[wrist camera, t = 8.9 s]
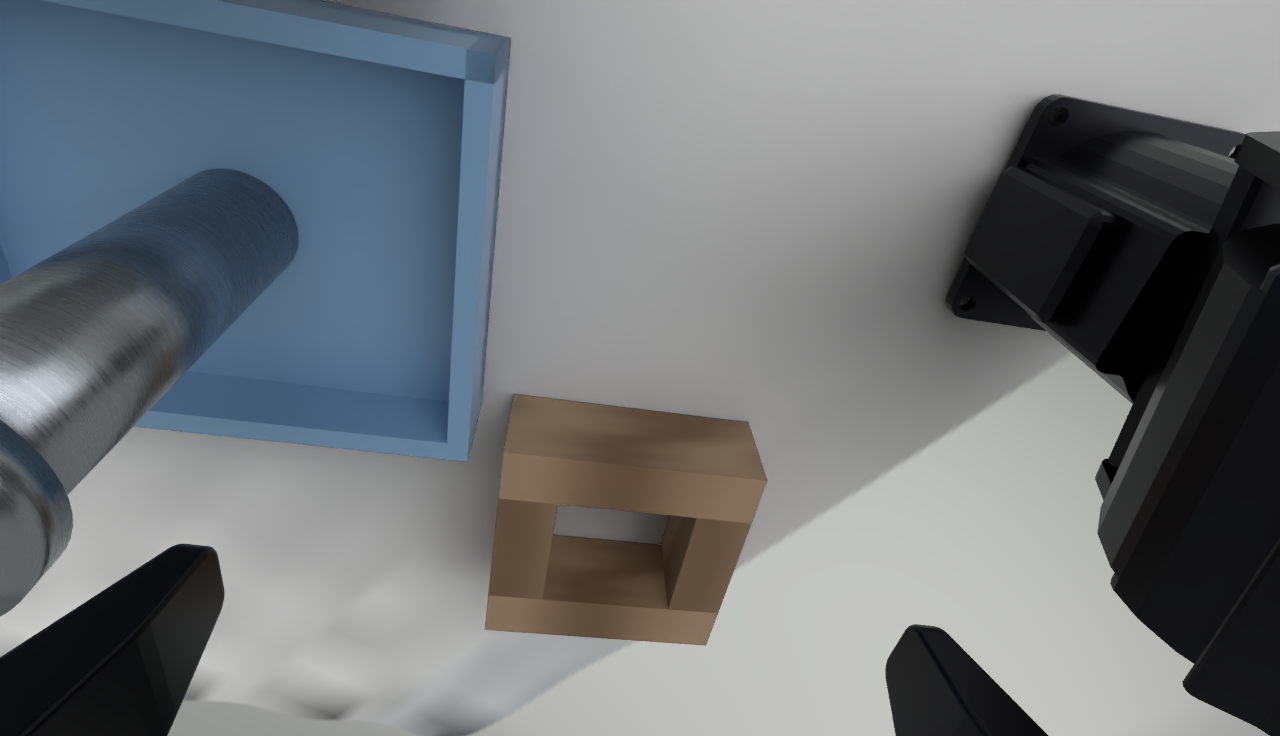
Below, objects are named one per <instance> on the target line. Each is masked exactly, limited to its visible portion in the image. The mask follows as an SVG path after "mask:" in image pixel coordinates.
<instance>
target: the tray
mask: <svg viewBox="0 0 1280 736" xmlns="http://www.w3.org/2000/svg"><path fill="white" fill-rule="evenodd" d="M510 45H511V38H509V37H504V36H499V35H494V34H489V33H483V32H478V31H473V30H468V29H463V28H458V27H453V26H448V25H443V24H438V23H433V22H428V21H423V20H417V19H412V18H407V17H402V16H397V15H392V14H387V13H382V12H377V11H372V10H367V9H362V8H357V7H351V6H346V5H341V4H336V3H331V2H326V1H321V0H0V285H1V284H3V283H4V282H6V281H8V280H10V279H11V278H13V277H15V276H17V275H18V274H20V273H22V272H24V271H26V270H27V269H29V268H31V267H33V266H34V265H36V264H38V263H40V262H41V261H43V260H45V259H47V258H48V257H50V256H52V255H54V254H55V253H57V252H59V251H61V250H63V249H64V248H66V247H68V246H70V245H71V244H73V243H75V242H77V241H78V240H80V239H82V238H84V237H85V236H87V235H89V234H91V233H92V232H94V231H96V230H98V229H100V228H101V227H103V226H105V225H107V224H108V223H110V222H112V221H114V220H115V219H117V218H119V217H121V216H122V215H124V214H126V213H128V212H129V211H131V210H133V209H135V208H137V207H138V206H140V205H142V204H144V203H145V202H147V201H149V200H151V199H152V198H154V197H156V196H158V195H159V194H161V193H163V192H165V191H166V190H168V189H170V188H172V187H174V186H175V185H177V184H179V183H181V182H182V181H184V180H186V179H188V178H189V177H191V176H193V175H195V174H197V173H199V172H201V171H205V170H209V169H216V168H224V169H232V170H237V171H241V172H244V173H247V174H249V175H251V176H253V177H256V178H257V179H259V180H261V181H263V182H264V183H265V184H267V185H268V186H270V187H271V188H272V189H273V190H274V191H275V192H277V193H278V194H279V196H280V197H281V198H282V199H283V200H284V201H285V203H286V204H287V205H288V207H289V209H290V210H291V212H292V214H293V216H294V218H295V221H296V224H297V228H298V234H299V243H298V249H297V252H296V255H295V257H294V259H293V261H292V262H291V263H290V264H289V266H288V267H287V268H286V269H285V270H284V271H283V272H282V273H281V274H280V275H279V276H278V277H277V278H276V279H275V280H274V281H273V282H272V283H271V284H270V285H269V286H268V287H267V288H266V289H265V291H264V292H263V293H262V294H261V295H260V296H259V297H258V298H257V299H256V300H255V301H254V302H253V303H252V304H251V305H250V306H249V307H248V308H247V309H246V310H245V311H244V312H243V313H242V314H241V315H240V316H239V317H238V319H237V320H236V321H235V322H234V323H233V324H232V325H231V326H230V327H229V328H228V329H227V330H226V331H225V332H224V333H223V334H222V335H221V336H220V337H219V338H218V339H217V340H216V341H215V342H214V343H213V344H212V345H211V347H210V348H209V349H208V350H207V351H206V352H205V353H204V354H203V355H202V356H201V357H200V358H199V359H198V360H197V361H196V362H195V363H194V364H193V365H192V366H191V367H190V368H189V369H188V370H187V371H186V372H185V373H184V375H183V376H182V377H181V378H180V379H179V380H178V381H177V382H176V383H175V384H174V385H173V386H172V387H171V388H170V389H169V390H168V391H167V392H166V393H165V394H164V395H163V396H162V397H161V398H160V399H159V400H158V401H157V403H156V404H155V405H154V406H153V407H152V408H151V409H150V410H149V411H148V412H147V413H146V414H145V415H144V416H143V417H142V418H141V419H140V420H139V421H138V422H137V423H136V424H135V425H134V427H143V428H153V429H162V430H172V431H181V432H191V433H200V434H210V435H219V436H228V437H238V438H247V439H257V440H266V441H276V442H285V443H294V444H304V445H313V446H323V447H332V448H342V449H351V450H360V451H370V452H379V453H389V454H398V455H408V456H417V457H427V458H436V459H445V460H455V461H464V462H467V461H468V457H469V453H470V449H471V445H472V441H473V437H474V433H475V429H476V425H477V421H478V417H479V413H480V409H481V404H482V395H483V383H484V370H485V358H486V345H487V333H488V320H489V308H490V295H491V283H492V270H493V258H494V245H495V233H496V220H497V208H498V195H499V183H500V170H501V158H502V145H503V133H504V120H505V108H506V95H507V83H508V70H509V58H510Z"/></svg>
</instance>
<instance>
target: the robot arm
mask: <svg viewBox="0 0 1280 736" xmlns="http://www.w3.org/2000/svg"><path fill="white" fill-rule="evenodd" d="M1057 108H1059V109H1060V113H1059V116H1058V118H1057V119H1056V120H1055V121H1054V122H1052V123H1049V117H1050V115H1051V113H1052V112H1053V111H1054V110H1055V109H1057ZM1235 146H1236V148H1235V150H1234V152H1233V153H1232V154H1231V155H1230V156H1229V157H1228V155H1229V152H1230V151H1231V150H1232V149H1233V148H1234V147H1235ZM967 296H970V299H969V300H968V302H967V303H965V304H963V305H960V302H961V301H962V299H963V298H965V297H967ZM946 305H947V307H948V308H949V309H950V310H951V311H952V313H953V314H954V315H955V316H957V317H960V318H965V319H972V320H978V321H985V322H991V323H998V324H1004V325H1011V326H1018V327H1024V328H1031V329H1037V330H1044V331H1047V332H1048V333H1050V334H1051V335H1052V336H1053V337H1054V338H1055V339H1057V340H1058V341H1059V342H1060V343H1061V344H1063V345H1064V346H1065V347H1066V348H1067V349H1068V350H1070V351H1071V352H1072V353H1073V354H1074V355H1075V356H1077V357H1078V358H1079V359H1080V360H1081V361H1083V362H1084V363H1085V364H1086V365H1087V366H1088V367H1090V368H1091V369H1092V370H1093V371H1095V372H1096V373H1097V374H1098V375H1099V376H1100V377H1101V378H1103V379H1104V380H1105V381H1106V382H1107V383H1108V384H1110V385H1111V386H1112V387H1113V388H1114V389H1116V390H1117V391H1118V392H1119V393H1120V394H1122V395H1123V396H1124V397H1125V398H1126V399H1127V400H1129V401H1130V402H1131V403H1132V404H1133V405H1132V407H1131V410H1130V412H1129V414H1128V416H1127V419H1126V421H1125V423H1124V425H1123V428H1122V430H1121V432H1120V435H1119V437H1118V439H1117V441H1116V443H1115V446H1114V448H1113V450H1112V453H1111V455H1110V457H1109V459H1104V460H1103V461H1102V463H1101V465H1100V468H1099V470H1098V472H1097V474H1096V477H1095V480H1096V482H1097V485H1098V487H1099V490H1100V492H1101V495H1102V498H1103V500H1104V502H1103V503H1102V506H1101V511H1100V519H1099V526H1098V535H1099V538H1100V541H1101V543H1102V546H1103V549H1104V551H1105V554H1106V556H1107V559H1108V561H1109V564H1110V566H1111V568H1112V569H1113V571H1114V572H1115V573H1114V575H1113V577H1112V579H1111V586H1112V588H1113V590H1114V591H1115V592H1116V593H1117V595H1118V596H1119V597H1120V598H1121V599H1122V600H1123V602H1124V603H1125V604H1126V605H1127V606H1128V608H1129V609H1130V610H1131V611H1132V612H1133V613H1134V615H1135V616H1136V617H1137V618H1138V619H1139V620H1140V621H1141V622H1143V624H1145V625H1146V626H1147V627H1148V628H1149V629H1150V630H1152V631H1153V632H1154V633H1155V634H1156V635H1157V636H1158V637H1160V638H1161V639H1162V640H1163V641H1165V643H1167V644H1168V645H1169V646H1170V647H1171V648H1173V649H1174V650H1175V651H1176V652H1177V653H1179V654H1180V655H1182V656H1183V657H1185V658H1187V659H1188V660H1190V661H1191V662H1192V663H1194V666H1193V667H1192V669H1191V670H1190V672H1189V673H1188V675H1187V676H1186V678H1185V679H1184V681H1183V687H1184V688H1185V690H1186V691H1187V692H1188V693H1189V694H1190V695H1192V696H1193V697H1196V698H1197V699H1199V700H1201V701H1203V702H1205V703H1208V704H1210V705H1212V706H1214V707H1216V708H1218V709H1220V710H1222V711H1224V712H1227V713H1229V714H1231V715H1233V716H1235V717H1237V718H1239V719H1241V720H1243V721H1245V722H1247V723H1250V724H1252V725H1254V726H1256V727H1257V728H1259V729H1261V730H1262V731H1264V732H1265V733H1267V734H1268V735H1270V736H1280V131H1279V132H1253V133H1247V134H1243V133H1240V132H1236V131H1231V130H1226V129H1222V128H1217V127H1212V126H1207V125H1203V124H1198V123H1193V122H1188V121H1183V120H1179V119H1174V118H1169V117H1164V116H1160V115H1155V114H1150V113H1145V112H1141V111H1136V110H1131V109H1126V108H1121V107H1117V106H1112V105H1107V104H1102V103H1098V102H1093V101H1088V100H1083V99H1078V98H1074V97H1069V96H1064V95H1050V96H1048V97H1046V98H1044V99H1043V100H1042V101H1040V102H1039V103H1038V104H1037V106H1036V107H1035V109H1034V110H1033V112H1032V115H1031V117H1030V119H1029V121H1028V123H1027V125H1026V127H1025V130H1024V132H1023V134H1022V136H1021V138H1020V140H1019V142H1018V145H1017V147H1016V149H1015V151H1014V153H1013V155H1012V157H1011V160H1010V162H1009V164H1008V166H1007V168H1006V170H1005V171H1004V172H1003V173H1002V174H1001V175H1000V177H999V179H998V181H997V184H996V186H995V188H994V190H993V192H992V194H991V197H990V199H989V201H988V203H987V205H986V207H985V209H984V212H983V214H982V216H981V218H980V220H979V222H978V225H977V227H976V229H975V231H974V233H973V235H972V237H971V240H970V242H969V244H968V246H967V248H966V250H965V258H964V260H963V263H962V265H961V267H960V269H959V271H958V273H957V275H956V278H955V280H954V282H953V284H952V286H951V288H950V290H949V293H948V295H947V298H946ZM223 601H224V586H223V581H222V575H221V570H220V565H219V559H218V555H217V552H216V551H215V550H214V549H213V548H212V547H209V546H200V545H191V544H178V545H175V546H172V547H170V548H169V549H167V550H165V551H164V552H162V553H161V554H159V555H158V556H156V557H155V558H153V559H151V560H150V561H148V562H147V563H145V564H144V565H142V566H141V567H139V568H138V569H136V570H134V571H133V572H131V573H130V574H128V575H127V576H125V577H124V578H122V579H121V580H119V581H118V582H116V583H114V584H113V585H111V586H110V587H108V588H107V589H105V590H104V591H102V592H101V593H99V594H97V595H96V596H94V597H93V598H91V599H90V600H88V601H87V602H85V603H84V604H82V605H80V606H79V607H77V608H76V609H74V610H73V611H71V612H70V613H68V614H67V615H65V616H63V617H62V618H60V619H59V620H57V621H56V622H54V623H53V624H51V625H50V626H48V627H46V628H45V629H43V630H42V631H40V632H39V633H37V634H36V635H34V636H33V637H31V638H30V639H28V640H26V641H25V642H23V643H22V644H20V645H19V646H17V647H16V648H14V649H13V650H11V651H9V652H8V653H6V654H5V655H3V656H2V657H0V736H167V735H168V733H169V730H170V728H171V726H172V724H173V722H174V719H175V717H176V715H177V713H178V710H179V708H180V706H181V703H182V701H183V699H184V696H185V694H186V692H187V689H188V687H189V685H190V682H191V680H192V678H193V675H194V673H195V671H196V668H197V666H198V664H199V661H200V659H201V656H202V654H203V652H204V649H205V647H206V645H207V642H208V640H209V638H210V635H211V633H212V631H213V628H214V626H215V624H216V621H217V619H218V617H219V614H220V612H221V609H222V606H223ZM886 682H887V688H888V693H889V699H890V705H891V710H892V716H893V722H894V728H895V733H896V736H1048V735H1047V734H1046V733H1045V732H1044V731H1043V730H1042V729H1041V728H1040V727H1039V726H1038V725H1037V724H1036V723H1035V722H1034V721H1033V720H1032V719H1031V718H1030V717H1029V716H1028V715H1027V714H1026V713H1025V712H1024V710H1022V708H1021V707H1020V706H1018V704H1017V703H1016V702H1015V701H1013V699H1012V698H1011V697H1010V696H1009V695H1008V694H1007V693H1006V692H1005V691H1004V690H1003V689H1002V688H1000V686H999V685H998V684H997V683H996V682H995V681H994V680H993V679H992V678H991V677H990V676H989V675H988V674H987V673H986V672H985V671H984V670H983V669H982V668H981V667H980V666H979V665H978V664H977V663H976V662H975V661H974V660H973V659H972V658H971V657H970V656H969V655H968V654H967V653H966V652H965V651H964V650H963V649H962V648H961V647H960V646H959V645H958V644H957V643H956V642H955V641H954V640H953V639H952V638H951V637H950V636H949V635H948V634H947V633H946V632H945V631H944V630H942V629H940V628H938V627H935V626H926V625H917V624H915V625H911V626H909V627H908V628H907V629H906V630H905V632H904V634H903V635H902V637H901V638H900V640H899V642H898V643H897V645H896V646H895V648H894V650H893V651H892V653H891V654H890V656H889V658H888V660H887V664H886Z"/></svg>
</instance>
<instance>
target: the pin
mask: <svg viewBox="0 0 1280 736" xmlns="http://www.w3.org/2000/svg"><path fill="white" fill-rule="evenodd" d="M298 243H299V234H298V228H297V224H296V221H295V218H294V216H293V214H292V212H291V210H290V209H289V207H288V205H287V204H286V203H285V201H284V200H283V199H282V198H281V197H280V196H279V194H278V193H277V192H275V191H274V190H273V189H272V188H271V187H270V186H268V185H267V184H265V183H264V182H263V181H261V180H259V179H257V178H256V177H253V176H251V175H249V174H247V173H244V172H241V171H237V170H232V169H224V168H216V169H209V170H205V171H201V172H199V173H197V174H195V175H193V176H191V177H189V178H188V179H186V180H184V181H182V182H181V183H179V184H177V185H175V186H174V187H172V188H170V189H168V190H166V191H165V192H163V193H161V194H159V195H158V196H156V197H154V198H152V199H151V200H149V201H147V202H145V203H144V204H142V205H140V206H138V207H137V208H135V209H133V210H131V211H129V212H128V213H126V214H124V215H122V216H121V217H119V218H117V219H115V220H114V221H112V222H110V223H108V224H107V225H105V226H103V227H101V228H100V229H98V230H96V231H94V232H92V233H91V234H89V235H87V236H85V237H84V238H82V239H80V240H78V241H77V242H75V243H73V244H71V245H70V246H68V247H66V248H64V249H63V250H61V251H59V252H57V253H55V254H54V255H52V256H50V257H48V258H47V259H45V260H43V261H41V262H40V263H38V264H36V265H34V266H33V267H31V268H29V269H27V270H26V271H24V272H22V273H20V274H18V275H17V276H15V277H13V278H11V279H10V280H8V281H6V282H4V283H3V284H1V285H0V616H2V615H3V614H5V613H7V612H9V611H10V610H11V609H12V608H14V607H15V606H16V605H17V604H18V603H19V602H20V601H21V600H22V599H23V598H24V597H25V596H26V595H27V593H28V592H29V591H30V590H31V589H32V588H33V587H34V585H35V584H36V583H37V582H38V581H39V580H40V579H41V577H42V576H43V575H44V574H45V573H46V572H47V571H48V569H49V568H50V567H51V566H52V565H53V564H54V563H55V562H56V560H57V559H58V558H59V557H60V556H61V554H62V553H63V552H64V550H65V549H66V547H67V545H68V543H69V540H70V538H71V533H72V528H73V519H72V510H71V506H70V502H69V499H68V496H67V495H68V494H69V493H70V492H71V491H72V490H73V489H74V488H75V487H76V485H77V484H78V483H79V482H80V481H81V480H82V479H83V478H84V477H85V476H86V475H87V474H88V473H89V472H90V471H91V470H92V469H93V468H94V467H95V466H96V465H97V464H98V463H99V462H100V461H101V460H102V459H103V457H104V456H105V455H106V454H107V453H108V452H109V451H110V450H111V449H112V448H113V447H114V446H115V445H116V444H117V443H118V442H119V441H120V440H121V439H122V438H123V437H124V436H125V435H126V434H127V433H128V432H129V431H130V429H131V428H132V427H133V426H134V425H135V424H136V423H137V422H138V421H139V420H140V419H141V418H142V417H143V416H144V415H145V414H146V413H147V412H148V411H149V410H150V409H151V408H152V407H153V406H154V405H155V404H156V403H157V401H158V400H159V399H160V398H161V397H162V396H163V395H164V394H165V393H166V392H167V391H168V390H169V389H170V388H171V387H172V386H173V385H174V384H175V383H176V382H177V381H178V380H179V379H180V378H181V377H182V376H183V375H184V373H185V372H186V371H187V370H188V369H189V368H190V367H191V366H192V365H193V364H194V363H195V362H196V361H197V360H198V359H199V358H200V357H201V356H202V355H203V354H204V353H205V352H206V351H207V350H208V349H209V348H210V347H211V345H212V344H213V343H214V342H215V341H216V340H217V339H218V338H219V337H220V336H221V335H222V334H223V333H224V332H225V331H226V330H227V329H228V328H229V327H230V326H231V325H232V324H233V323H234V322H235V321H236V320H237V319H238V317H239V316H240V315H241V314H242V313H243V312H244V311H245V310H246V309H247V308H248V307H249V306H250V305H251V304H252V303H253V302H254V301H255V300H256V299H257V298H258V297H259V296H260V295H261V294H262V293H263V292H264V291H265V289H266V288H267V287H268V286H269V285H270V284H271V283H272V282H273V281H274V280H275V279H276V278H277V277H278V276H279V275H280V274H281V273H282V272H283V271H284V270H285V269H286V268H287V267H288V266H289V264H290V263H291V262H292V261H293V259H294V257H295V255H296V252H297V249H298Z"/></svg>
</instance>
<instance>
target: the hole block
mask: <svg viewBox="0 0 1280 736" xmlns="http://www.w3.org/2000/svg"><path fill="white" fill-rule="evenodd" d="M766 483H767V479H766V475H765V472H764V469H763V466H762V463H761V460H760V457H759V454H758V451H757V448H756V444H755V441H754V438H753V435H752V432H751V429H750V426H749V423H748V422H740V421H731V420H723V419H715V418H707V417H698V416H690V415H682V414H674V413H666V412H657V411H649V410H641V409H633V408H624V407H616V406H608V405H600V404H591V403H583V402H575V401H567V400H558V399H550V398H542V397H534V396H526V395H517V394H514V397H513V402H512V408H511V413H510V419H509V424H508V429H507V435H506V440H505V446H504V451H503V460H502V470H501V479H500V489H499V498H498V508H497V517H496V527H495V537H494V546H493V556H492V565H491V575H490V584H489V594H488V603H487V613H486V623H485V630H495V631H509V632H523V633H537V634H552V635H566V636H580V637H594V638H608V639H622V640H636V641H650V642H665V643H679V644H694V645H706V644H707V641H708V639H709V636H710V633H711V630H712V628H713V625H714V623H715V620H716V617H717V615H718V612H719V609H720V606H721V604H722V601H723V598H724V596H725V593H726V590H727V587H728V585H729V582H730V580H731V577H732V574H733V572H734V569H735V566H736V564H737V561H738V558H739V555H740V553H741V550H742V547H743V545H744V542H745V539H746V537H747V534H748V531H749V529H750V526H751V523H752V521H753V518H754V515H755V513H756V510H757V507H758V505H759V502H760V499H761V496H762V494H763V491H764V488H765V486H766ZM558 504H560V505H570V506H581V507H591V508H601V509H611V510H621V511H631V512H641V513H651V514H661V515H670V516H669V519H668V523H667V526H666V530H665V533H664V537H663V540H662V544H661V545H655V544H644V543H634V542H623V541H612V540H601V539H590V538H579V537H568V536H558V535H553V531H554V525H555V519H556V513H557V507H558Z"/></svg>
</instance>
